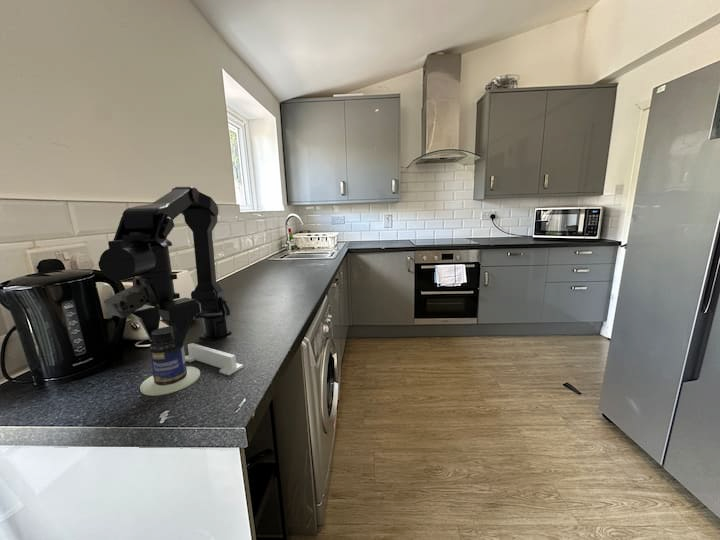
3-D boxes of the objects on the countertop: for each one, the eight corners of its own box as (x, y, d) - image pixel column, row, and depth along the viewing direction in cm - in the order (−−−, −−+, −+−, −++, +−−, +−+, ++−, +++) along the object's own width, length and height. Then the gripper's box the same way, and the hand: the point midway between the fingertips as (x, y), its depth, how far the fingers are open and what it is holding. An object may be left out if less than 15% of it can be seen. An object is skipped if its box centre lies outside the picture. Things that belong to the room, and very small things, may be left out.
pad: (129, 387, 62) (129, 385, 62) (181, 364, 72) (181, 362, 72) (159, 401, 57) (158, 399, 57) (210, 374, 67) (210, 372, 67)
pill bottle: (152, 389, 60) (143, 338, 58) (156, 375, 66) (148, 328, 64) (187, 381, 63) (180, 331, 61) (188, 368, 68) (182, 323, 67)
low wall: (182, 359, 74) (180, 346, 73) (197, 353, 78) (196, 340, 77) (228, 375, 66) (227, 360, 65) (243, 367, 70) (241, 353, 69)
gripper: (83, 275, 58) (97, 350, 60) (133, 282, 49) (148, 370, 51) (146, 266, 67) (156, 331, 70) (198, 271, 58) (207, 345, 61)
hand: (165, 343), depth 63 cm, fingers open, 9 cm apart
